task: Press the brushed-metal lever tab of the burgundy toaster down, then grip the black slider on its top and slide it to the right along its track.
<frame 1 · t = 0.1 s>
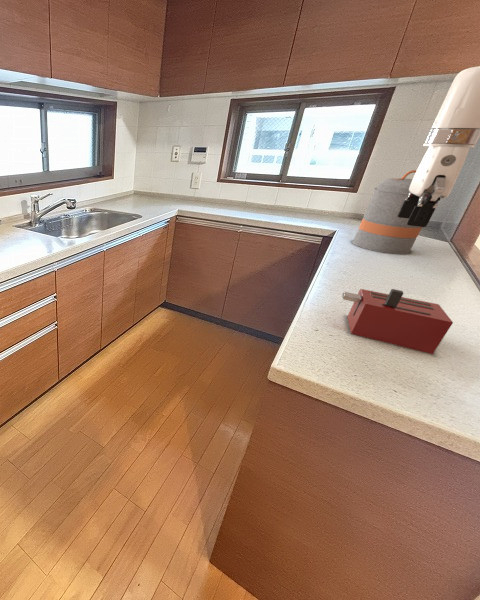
hand: (410, 221, 75), 29 cm above the worktop, tool pointing down, fingers open, 9 cm apart
storage container: (379, 247, 158), on the worktop
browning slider: (393, 298, 80), point 11 cm above the worktop, slide at 0.0 cm
toaster: (386, 333, 86), on the worktop
carriage lever: (351, 297, 87), point 8 cm above the worktop, slide at 0.0 cm
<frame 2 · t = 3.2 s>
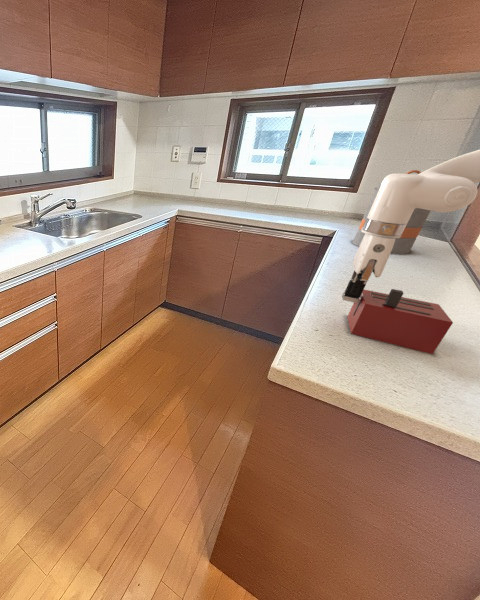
hand: (351, 295, 87), 8 cm above the worktop, tool pointing down, fingers closed
carriage lever: (351, 297, 87), point 8 cm above the worktop, slide at 0.2 cm, touching gripper
everything else where it was.
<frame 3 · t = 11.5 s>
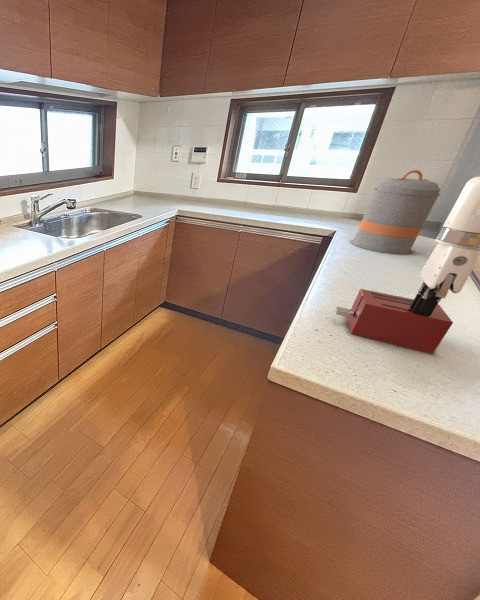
hand: (419, 311, 78), 9 cm above the worktop, tool pointing down, fingers closed on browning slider
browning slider: (423, 304, 77), point 11 cm above the worktop, slide at 5.6 cm, touching gripper
carriage lever: (344, 312, 89), point 3 cm above the worktop, slide at 4.6 cm
everything else where it was.
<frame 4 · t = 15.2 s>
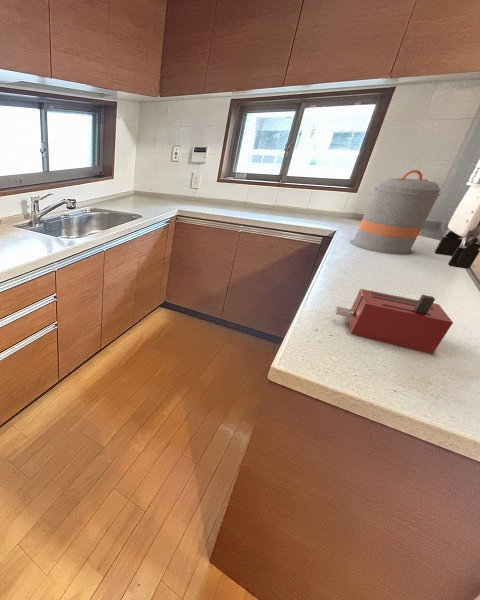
hand: (450, 260, 72), 22 cm above the worktop, tool pointing down, fingers open, 9 cm apart
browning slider: (424, 304, 77), point 11 cm above the worktop, slide at 5.6 cm
everything else where it was.
at the end: carriage lever slide at 4.6 cm; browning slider slide at 5.6 cm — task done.
